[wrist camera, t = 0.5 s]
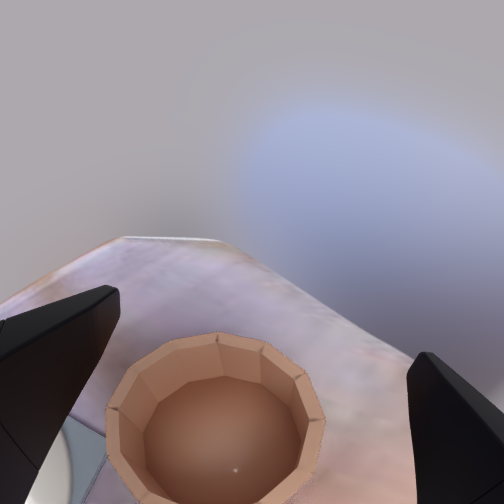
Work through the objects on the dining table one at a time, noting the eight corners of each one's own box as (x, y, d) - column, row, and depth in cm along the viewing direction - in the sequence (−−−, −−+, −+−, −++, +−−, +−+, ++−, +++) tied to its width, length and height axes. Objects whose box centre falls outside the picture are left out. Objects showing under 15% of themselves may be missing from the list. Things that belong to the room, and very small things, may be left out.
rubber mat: (43, 589, 5) (39, 589, 5) (-60, 471, 10) (-63, 469, 10) (114, 443, 20) (111, 441, 19) (1, 364, 24) (-1, 362, 24)
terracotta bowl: (285, 543, 13) (291, 549, 9) (112, 482, 17) (73, 464, 13) (324, 390, 24) (337, 353, 20) (176, 357, 27) (160, 316, 24)
